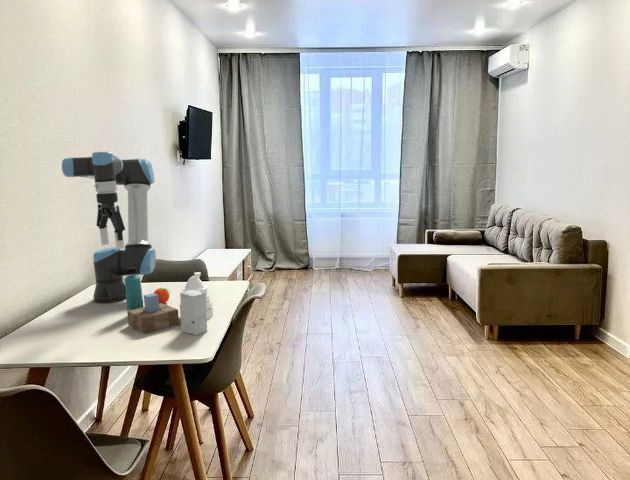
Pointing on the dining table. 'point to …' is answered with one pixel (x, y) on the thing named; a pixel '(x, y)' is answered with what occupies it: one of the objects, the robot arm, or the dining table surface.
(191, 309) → the skincare box
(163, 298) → the red tomato
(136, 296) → the beverage bottle
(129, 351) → the dining table surface
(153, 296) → the peg
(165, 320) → the socket block
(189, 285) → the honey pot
